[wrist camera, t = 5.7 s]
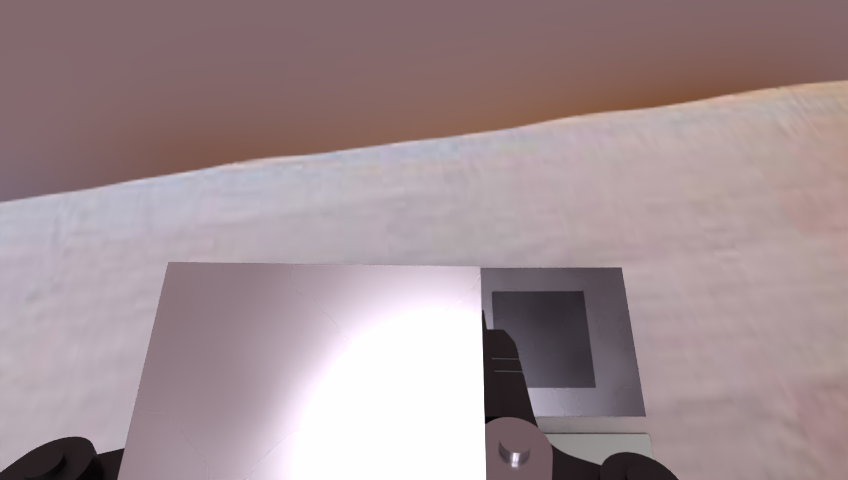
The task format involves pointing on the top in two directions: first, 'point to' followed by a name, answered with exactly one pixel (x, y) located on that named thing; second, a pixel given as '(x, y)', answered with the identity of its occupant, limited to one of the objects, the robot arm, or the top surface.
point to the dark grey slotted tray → (568, 337)
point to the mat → (601, 445)
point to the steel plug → (312, 375)
